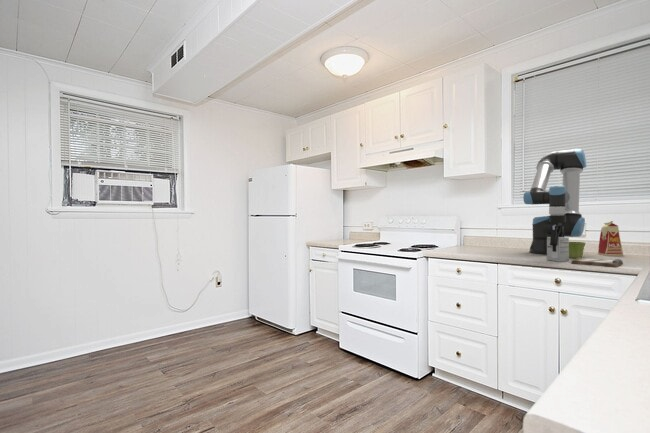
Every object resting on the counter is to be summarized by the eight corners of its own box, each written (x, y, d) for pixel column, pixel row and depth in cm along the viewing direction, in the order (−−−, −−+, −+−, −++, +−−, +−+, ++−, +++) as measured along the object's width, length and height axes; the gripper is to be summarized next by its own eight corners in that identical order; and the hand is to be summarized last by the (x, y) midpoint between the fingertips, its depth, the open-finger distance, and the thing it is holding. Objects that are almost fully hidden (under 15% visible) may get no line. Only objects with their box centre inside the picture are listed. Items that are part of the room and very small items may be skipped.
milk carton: (623, 255, 206) (623, 221, 205) (605, 255, 208) (605, 221, 207) (614, 253, 215) (614, 220, 214) (596, 253, 216) (596, 220, 216)
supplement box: (546, 260, 195) (546, 236, 195) (556, 259, 197) (556, 236, 197) (559, 261, 188) (558, 237, 188) (569, 261, 190) (569, 237, 190)
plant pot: (578, 256, 207) (578, 241, 206) (590, 258, 197) (590, 242, 197) (561, 256, 207) (561, 241, 206) (573, 259, 197) (573, 243, 197)
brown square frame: (571, 263, 182) (571, 258, 182) (579, 260, 192) (579, 255, 192) (616, 267, 168) (616, 262, 168) (622, 263, 178) (622, 258, 178)
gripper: (559, 215, 182) (559, 259, 183) (571, 214, 197) (571, 255, 197) (542, 215, 188) (543, 258, 188) (555, 214, 202) (556, 254, 203)
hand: (557, 256), depth 193 cm, fingers closed on supplement box, 9 cm apart
